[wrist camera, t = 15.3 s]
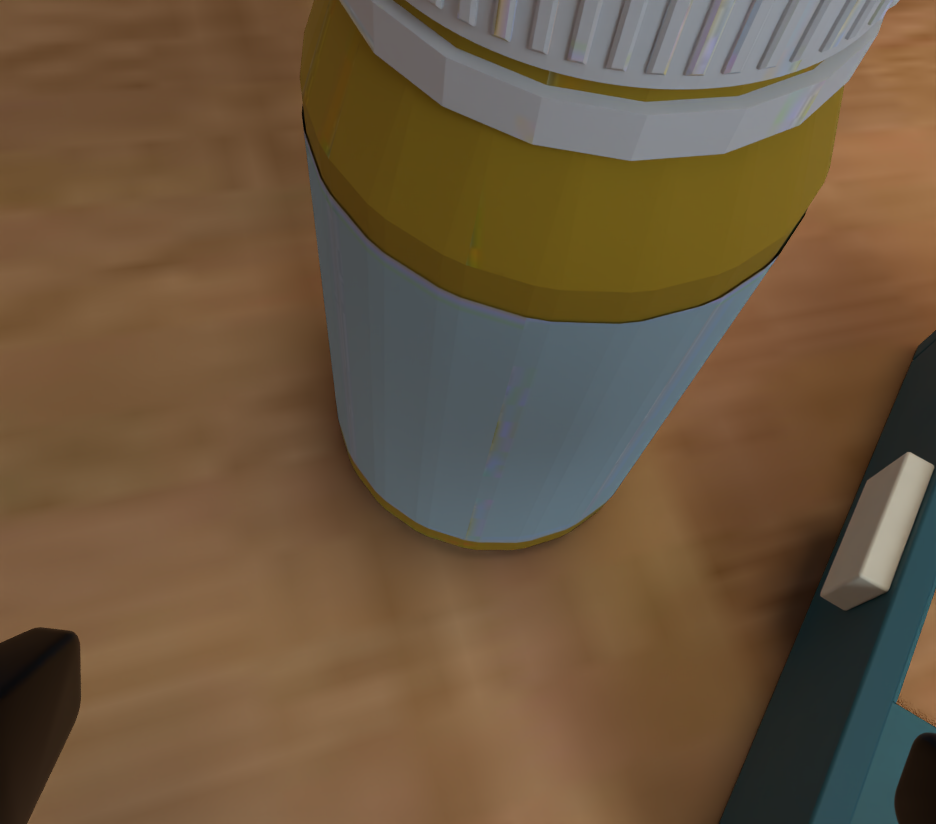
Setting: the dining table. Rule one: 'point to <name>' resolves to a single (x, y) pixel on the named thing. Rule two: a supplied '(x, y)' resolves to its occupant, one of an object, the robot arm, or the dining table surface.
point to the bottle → (549, 228)
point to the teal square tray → (856, 642)
